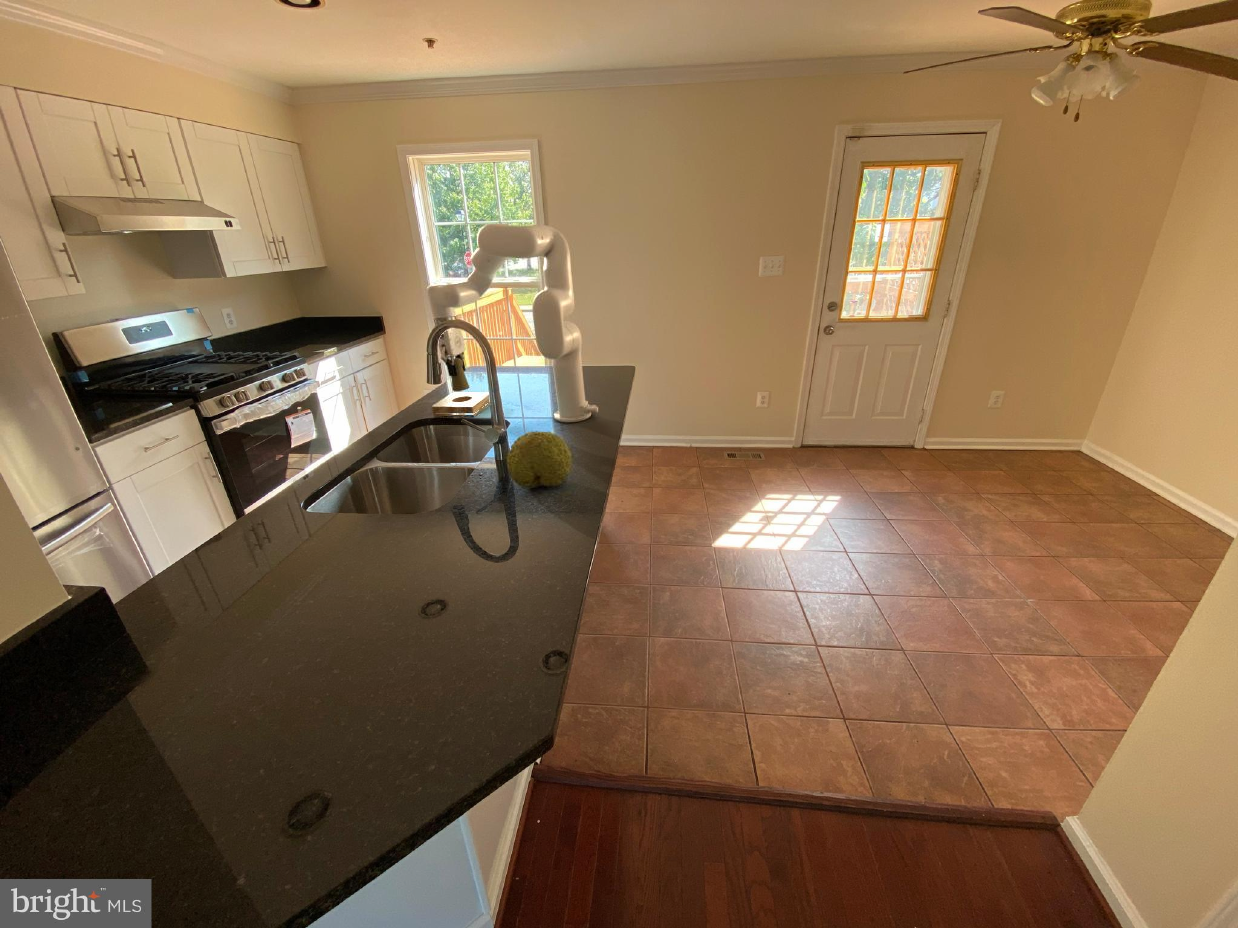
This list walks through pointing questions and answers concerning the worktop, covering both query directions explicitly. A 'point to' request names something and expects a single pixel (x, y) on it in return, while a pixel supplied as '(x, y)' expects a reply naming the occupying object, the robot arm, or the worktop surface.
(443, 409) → the stand
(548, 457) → the fruit
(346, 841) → the worktop surface
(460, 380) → the cork
